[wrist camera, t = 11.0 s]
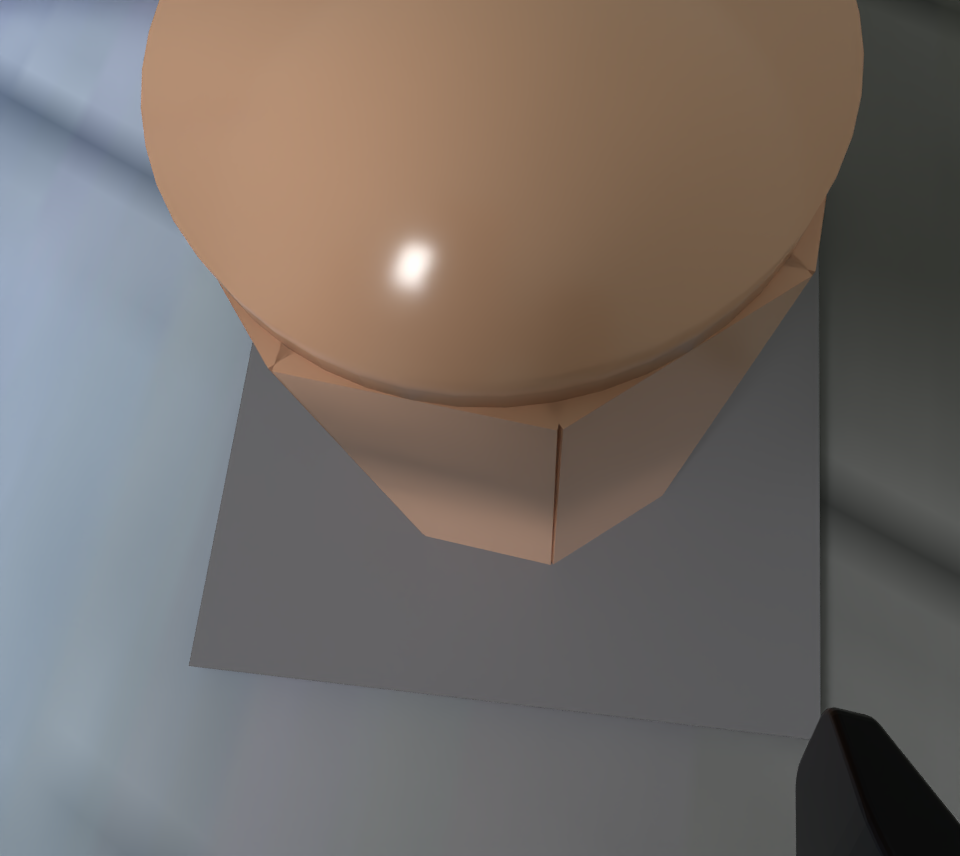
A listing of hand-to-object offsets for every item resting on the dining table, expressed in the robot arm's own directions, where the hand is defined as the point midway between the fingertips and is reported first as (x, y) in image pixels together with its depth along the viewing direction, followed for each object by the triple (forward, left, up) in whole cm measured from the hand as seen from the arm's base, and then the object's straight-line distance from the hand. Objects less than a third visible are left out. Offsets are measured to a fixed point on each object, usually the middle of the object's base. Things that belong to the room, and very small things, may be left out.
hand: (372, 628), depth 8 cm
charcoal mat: (+6, -1, -11) cm, 12 cm away
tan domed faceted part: (+6, -1, -10) cm, 12 cm away
